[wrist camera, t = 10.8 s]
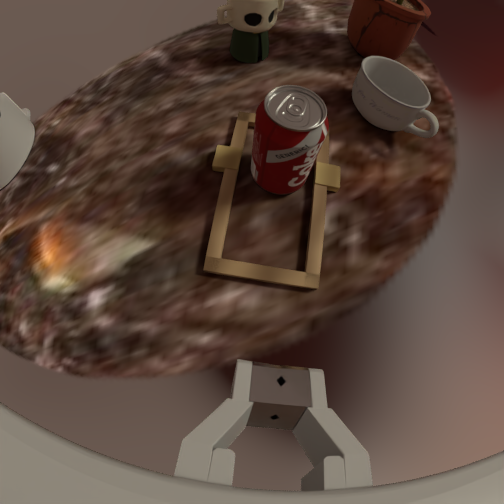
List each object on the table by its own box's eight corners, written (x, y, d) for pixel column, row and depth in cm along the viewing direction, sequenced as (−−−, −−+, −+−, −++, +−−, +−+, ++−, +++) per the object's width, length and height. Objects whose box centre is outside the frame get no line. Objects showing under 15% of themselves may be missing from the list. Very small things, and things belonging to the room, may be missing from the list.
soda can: (242, 187, 34) (246, 121, 22) (259, 142, 36) (269, 73, 24) (298, 204, 34) (327, 146, 22) (311, 158, 35) (338, 94, 24)
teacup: (332, 92, 39) (346, 54, 31) (383, 85, 40) (401, 53, 33) (383, 165, 36) (410, 132, 28) (431, 151, 37) (458, 122, 30)
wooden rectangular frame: (190, 269, 31) (188, 267, 30) (227, 115, 37) (227, 109, 35) (328, 291, 31) (332, 290, 30) (338, 134, 37) (340, 129, 35)
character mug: (230, 75, 39) (230, 5, 26) (209, 53, 40) (205, -11, 27) (289, 57, 40) (301, -6, 28) (265, 37, 42) (271, -22, 29)
